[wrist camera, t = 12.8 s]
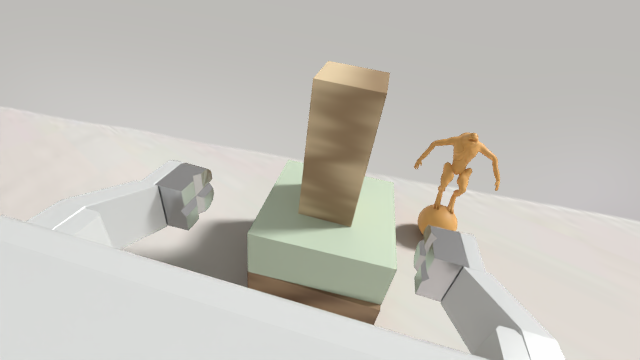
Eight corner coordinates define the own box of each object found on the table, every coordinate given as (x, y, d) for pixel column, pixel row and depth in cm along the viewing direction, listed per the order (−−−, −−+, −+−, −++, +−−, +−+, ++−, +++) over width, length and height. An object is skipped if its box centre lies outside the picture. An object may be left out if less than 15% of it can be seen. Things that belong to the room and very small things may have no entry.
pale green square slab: (247, 271, 22) (247, 233, 19) (285, 193, 30) (288, 159, 27) (381, 304, 21) (397, 269, 19) (382, 214, 29) (393, 182, 27)
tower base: (247, 301, 24) (247, 270, 22) (287, 222, 32) (290, 193, 30) (367, 338, 23) (380, 310, 20) (376, 246, 31) (386, 218, 29)
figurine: (392, 235, 32) (430, 138, 25) (397, 203, 37) (430, 114, 30) (470, 260, 30) (534, 164, 24) (465, 224, 35) (516, 135, 28)
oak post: (298, 213, 22) (313, 78, 16) (311, 182, 25) (328, 60, 19) (350, 227, 21) (387, 93, 15) (357, 194, 24) (389, 72, 18)
